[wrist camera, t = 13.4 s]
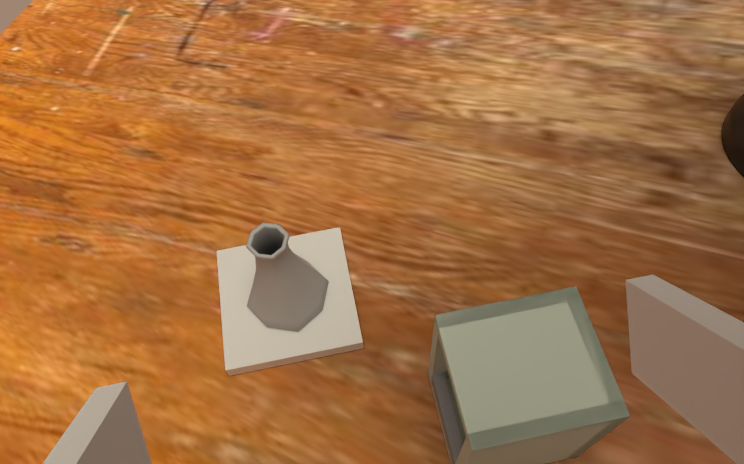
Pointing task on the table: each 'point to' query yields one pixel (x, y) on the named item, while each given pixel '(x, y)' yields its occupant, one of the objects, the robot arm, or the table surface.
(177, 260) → the table surface
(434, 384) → the dispenser box
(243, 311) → the plate
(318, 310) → the flask
